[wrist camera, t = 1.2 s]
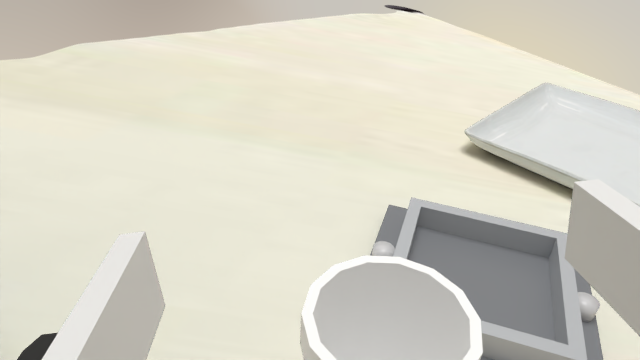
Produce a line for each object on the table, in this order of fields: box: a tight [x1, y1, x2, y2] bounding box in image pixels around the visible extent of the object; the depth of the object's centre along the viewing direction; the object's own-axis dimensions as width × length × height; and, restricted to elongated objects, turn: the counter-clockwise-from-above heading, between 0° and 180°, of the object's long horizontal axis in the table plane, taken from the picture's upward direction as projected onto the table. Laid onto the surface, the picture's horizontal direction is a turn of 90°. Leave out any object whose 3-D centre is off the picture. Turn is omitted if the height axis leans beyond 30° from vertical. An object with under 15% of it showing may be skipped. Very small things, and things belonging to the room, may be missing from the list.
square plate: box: [465, 83, 640, 207], centre depth 67 cm, size 27×27×4 cm
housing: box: [370, 197, 603, 360], centre depth 44 cm, size 20×18×4 cm
